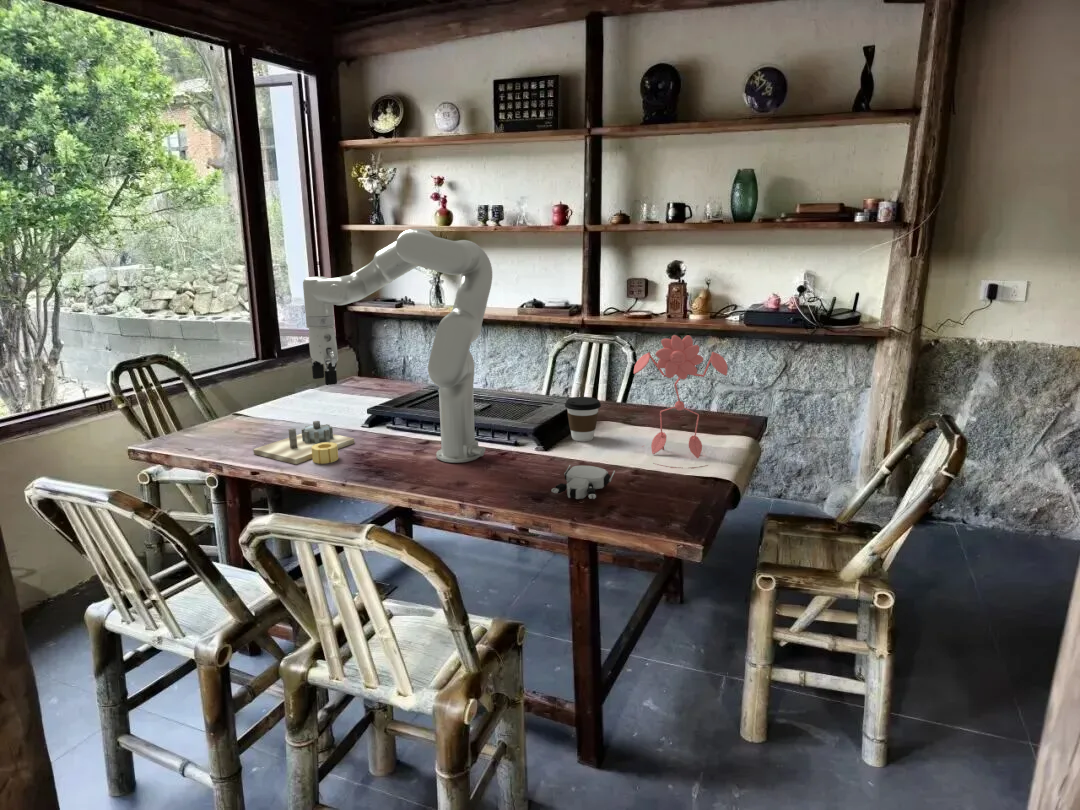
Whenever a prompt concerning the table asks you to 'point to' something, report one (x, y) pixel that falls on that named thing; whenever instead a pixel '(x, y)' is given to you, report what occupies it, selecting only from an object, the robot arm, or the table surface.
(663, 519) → the table surface
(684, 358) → the dancing flower figure
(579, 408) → the coffee cup
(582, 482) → the robot toy
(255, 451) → the gear board
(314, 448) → the ochre gear
